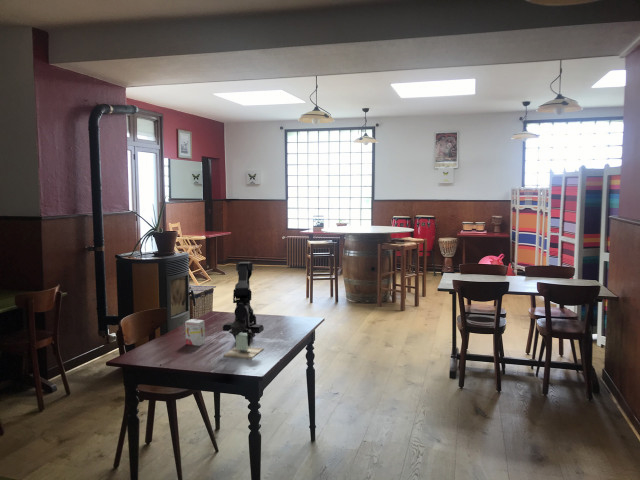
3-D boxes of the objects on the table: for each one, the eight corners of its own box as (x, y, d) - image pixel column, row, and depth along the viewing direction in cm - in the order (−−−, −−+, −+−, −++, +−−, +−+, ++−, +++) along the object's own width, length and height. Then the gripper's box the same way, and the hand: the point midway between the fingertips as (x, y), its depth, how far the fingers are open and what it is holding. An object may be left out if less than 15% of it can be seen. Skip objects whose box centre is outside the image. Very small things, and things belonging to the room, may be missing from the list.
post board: (237, 347, 252) (237, 346, 252) (263, 349, 248) (263, 348, 248) (223, 356, 238) (223, 355, 238) (251, 358, 234) (251, 357, 234)
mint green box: (241, 346, 246) (240, 332, 245) (251, 346, 244) (250, 333, 244) (236, 349, 241) (235, 335, 240) (246, 350, 239) (245, 336, 239)
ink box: (185, 344, 258) (184, 321, 257) (191, 341, 263) (190, 318, 261) (199, 346, 255) (198, 322, 254) (205, 343, 259) (204, 320, 258)
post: (242, 350, 245) (242, 337, 244) (247, 351, 244) (247, 337, 243) (240, 352, 242) (239, 338, 241) (245, 352, 241) (244, 339, 241)
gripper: (216, 316, 236) (217, 349, 238) (253, 318, 231) (254, 352, 232) (227, 310, 247) (228, 342, 248) (263, 312, 241) (264, 345, 243)
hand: (243, 345), depth 243 cm, fingers closed on mint green box, 5 cm apart
